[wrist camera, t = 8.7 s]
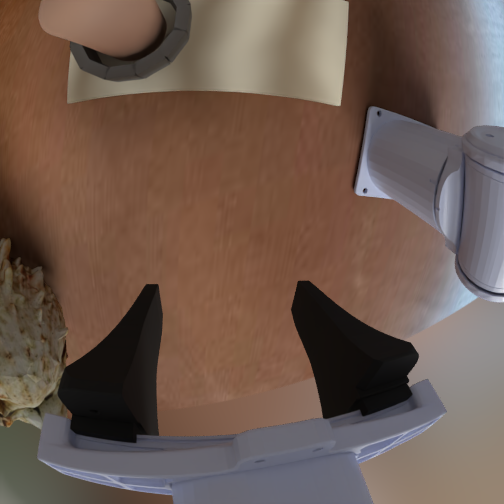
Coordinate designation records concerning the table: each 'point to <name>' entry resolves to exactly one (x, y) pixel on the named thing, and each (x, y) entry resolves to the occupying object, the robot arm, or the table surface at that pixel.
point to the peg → (107, 25)
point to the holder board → (229, 52)
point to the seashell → (29, 344)
